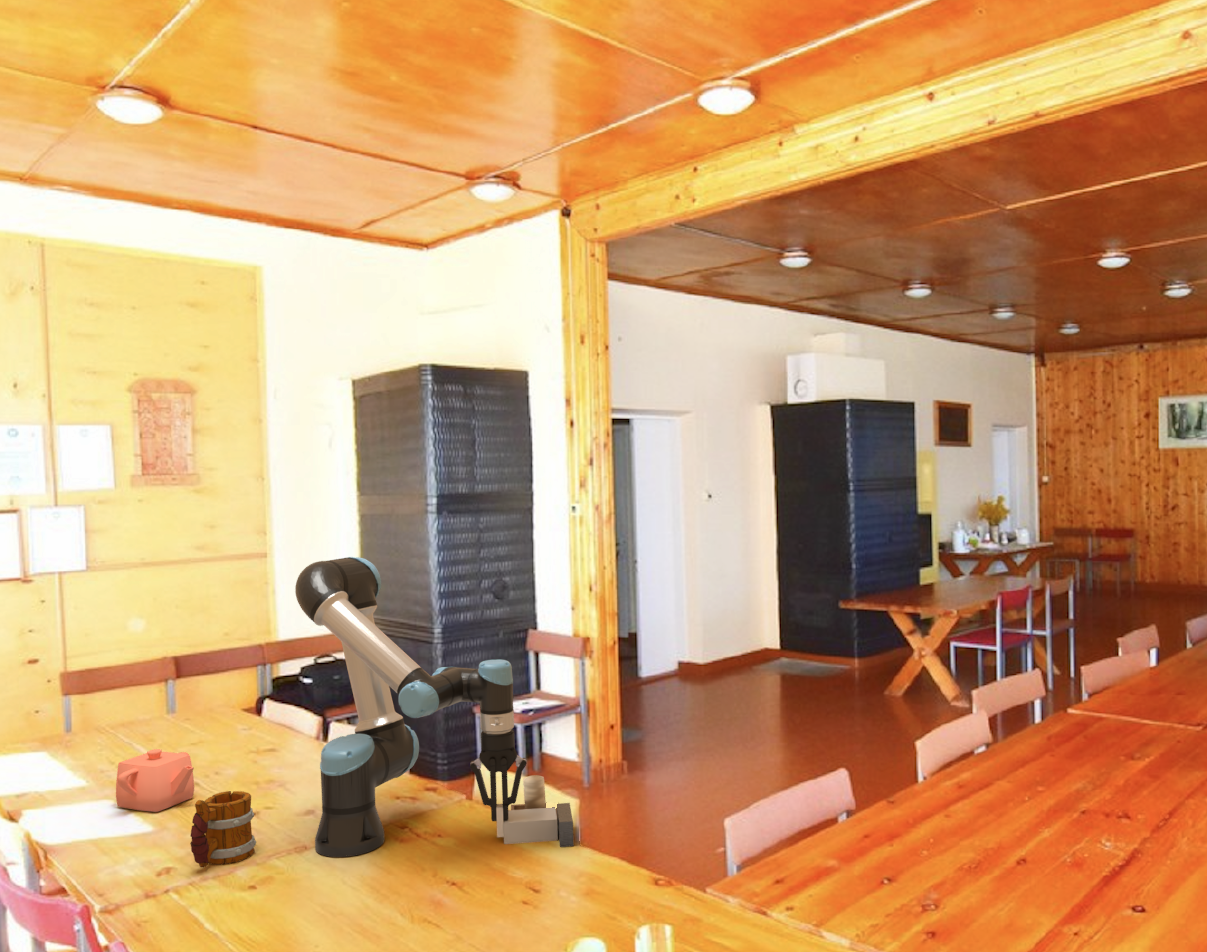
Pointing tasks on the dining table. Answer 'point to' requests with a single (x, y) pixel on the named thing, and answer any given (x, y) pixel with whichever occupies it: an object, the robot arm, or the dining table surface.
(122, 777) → the teapot
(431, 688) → the robot arm
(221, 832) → the mug
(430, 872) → the dining table surface
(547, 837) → the slab
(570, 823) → the block
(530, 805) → the roller
